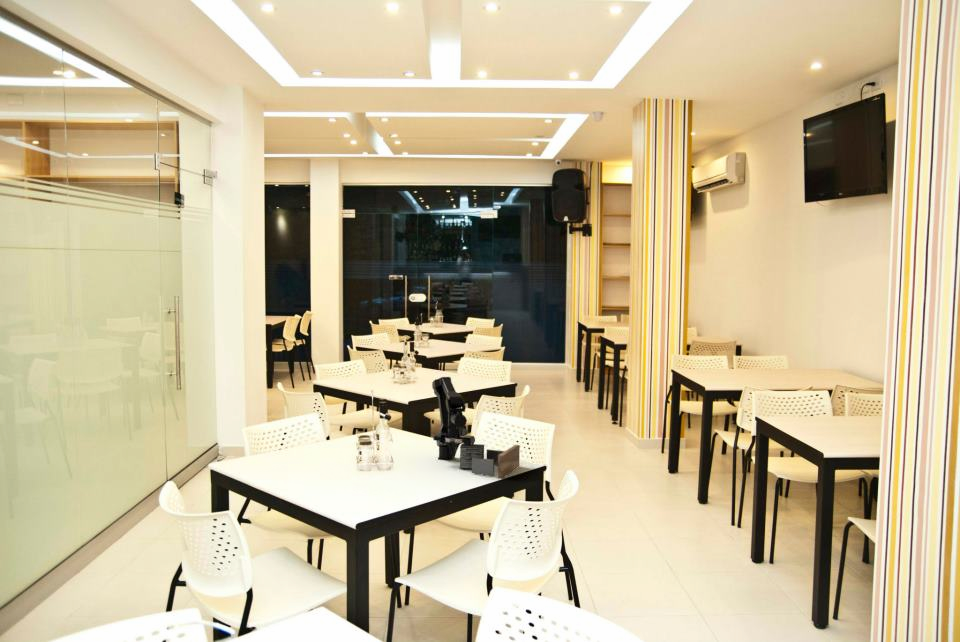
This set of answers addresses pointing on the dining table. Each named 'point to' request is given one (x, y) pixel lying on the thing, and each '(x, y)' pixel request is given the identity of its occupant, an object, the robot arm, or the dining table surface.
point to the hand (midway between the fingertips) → (453, 456)
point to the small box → (470, 454)
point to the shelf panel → (508, 461)
